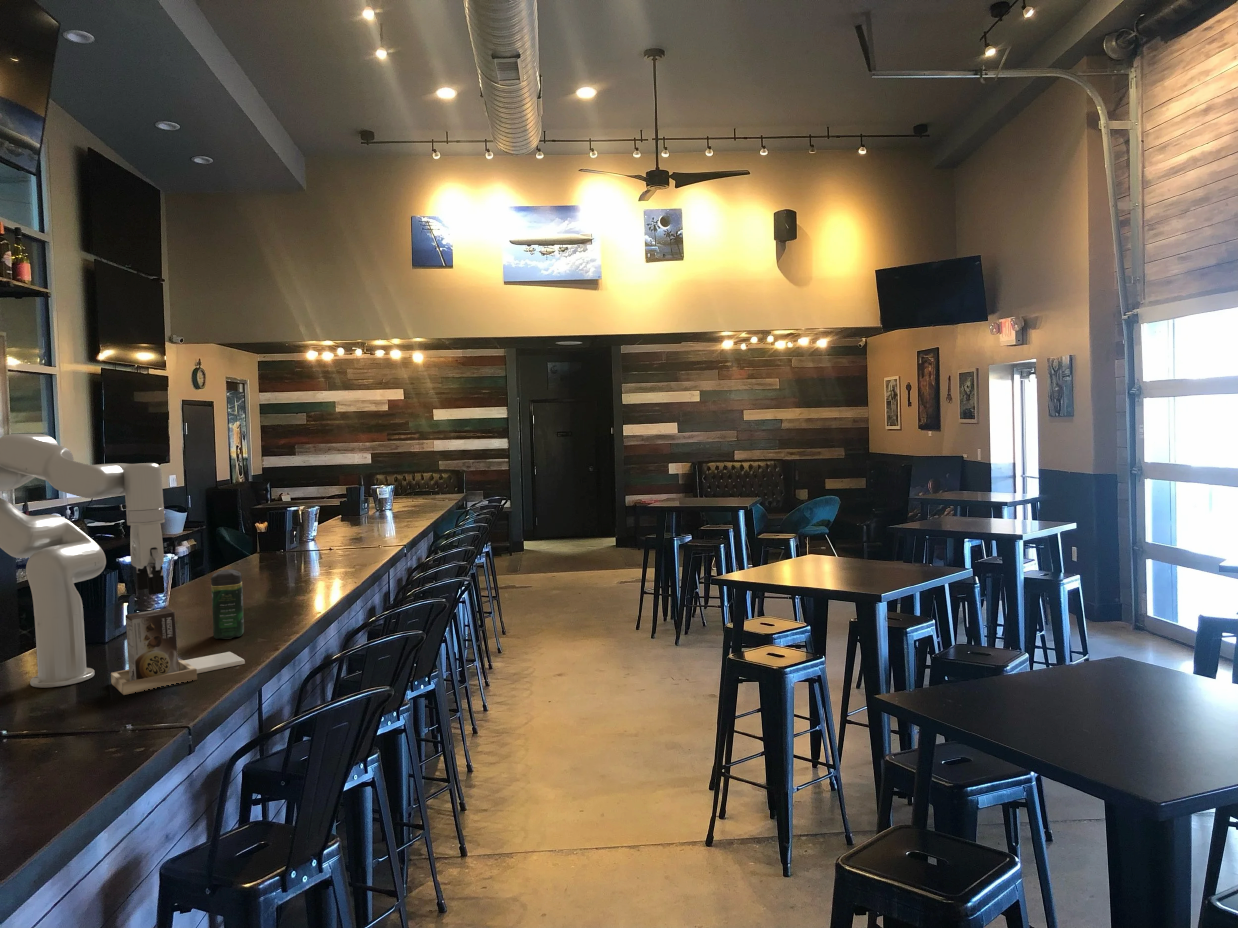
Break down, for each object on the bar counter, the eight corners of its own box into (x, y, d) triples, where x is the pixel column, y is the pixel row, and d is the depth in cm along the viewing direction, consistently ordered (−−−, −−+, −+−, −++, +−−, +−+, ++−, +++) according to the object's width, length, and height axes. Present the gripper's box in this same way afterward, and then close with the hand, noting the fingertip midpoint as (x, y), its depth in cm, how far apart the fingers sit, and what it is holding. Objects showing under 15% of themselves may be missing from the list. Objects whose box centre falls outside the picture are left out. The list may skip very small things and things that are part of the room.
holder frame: (111, 683, 195) (110, 672, 195) (182, 669, 205) (181, 659, 205) (123, 694, 186) (123, 683, 186) (197, 679, 196) (196, 668, 196)
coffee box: (171, 674, 201) (168, 607, 200) (179, 680, 197) (176, 611, 196) (128, 683, 195) (124, 613, 194) (135, 689, 190) (131, 618, 190)
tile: (183, 664, 210) (183, 660, 210) (229, 655, 217) (229, 651, 217) (196, 673, 201) (196, 669, 201) (244, 663, 209) (244, 659, 209)
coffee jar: (243, 637, 235) (240, 571, 234) (212, 641, 232) (208, 574, 232) (245, 630, 244) (242, 566, 243) (215, 633, 241) (211, 568, 241)
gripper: (118, 517, 198) (123, 589, 199) (136, 521, 185) (142, 598, 186) (153, 513, 203) (158, 584, 204) (174, 517, 190) (179, 593, 191)
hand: (150, 591), depth 195 cm, fingers open, 9 cm apart
